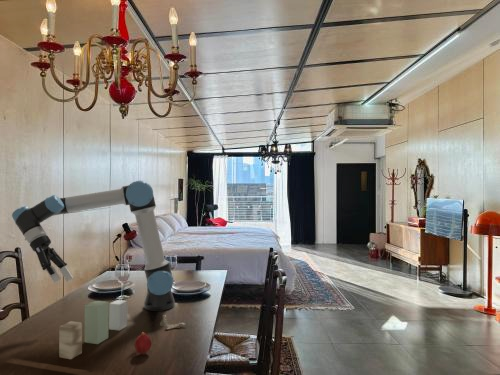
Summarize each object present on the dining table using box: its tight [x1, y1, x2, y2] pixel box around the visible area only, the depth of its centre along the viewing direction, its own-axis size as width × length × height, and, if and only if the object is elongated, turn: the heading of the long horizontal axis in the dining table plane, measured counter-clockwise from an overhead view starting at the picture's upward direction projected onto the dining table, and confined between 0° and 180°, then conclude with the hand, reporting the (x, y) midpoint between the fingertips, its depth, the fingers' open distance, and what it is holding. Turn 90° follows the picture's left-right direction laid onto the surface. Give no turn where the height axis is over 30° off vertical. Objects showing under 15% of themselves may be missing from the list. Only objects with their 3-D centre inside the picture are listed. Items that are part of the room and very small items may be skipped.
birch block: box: [58, 320, 83, 360], centre depth 123 cm, size 5×5×12 cm
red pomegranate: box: [134, 331, 152, 356], centre depth 127 cm, size 6×6×8 cm
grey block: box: [108, 299, 128, 331], centre depth 149 cm, size 5×5×12 cm
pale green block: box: [84, 300, 109, 345], centre depth 136 cm, size 6×6×14 cm
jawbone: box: [159, 314, 186, 331], centre depth 157 cm, size 9×20×2 cm, turn 42°
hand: (64, 280), depth 150 cm, fingers open, 13 cm apart
